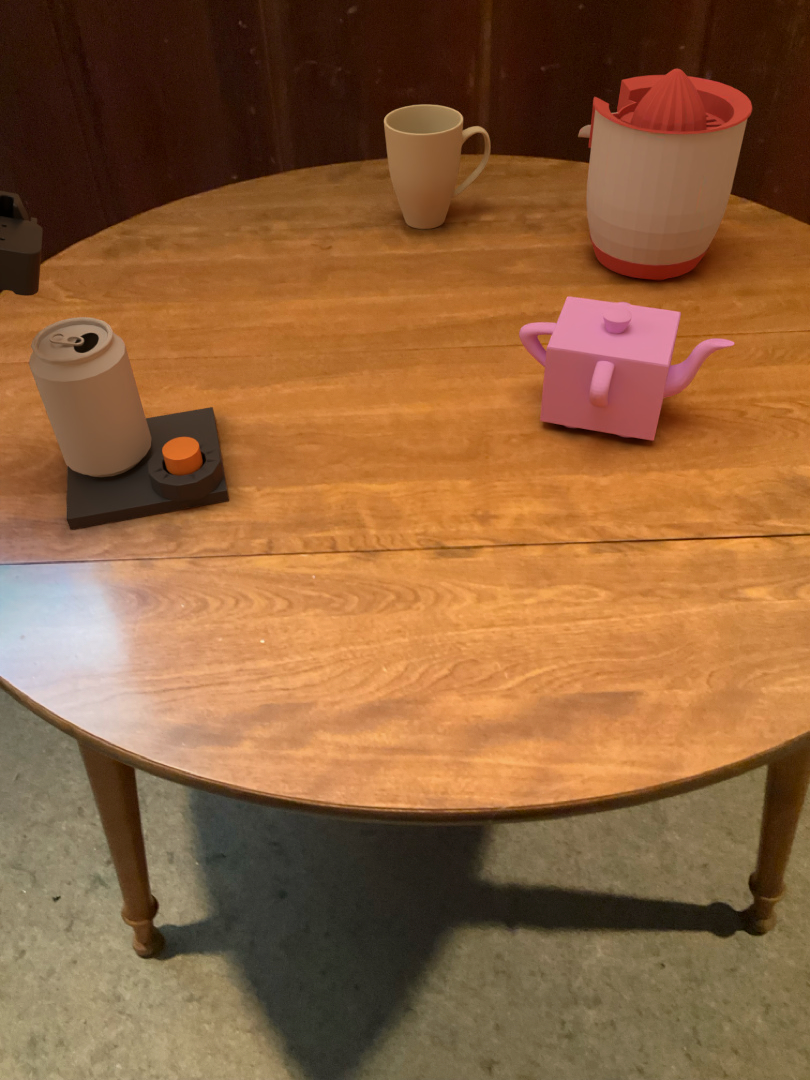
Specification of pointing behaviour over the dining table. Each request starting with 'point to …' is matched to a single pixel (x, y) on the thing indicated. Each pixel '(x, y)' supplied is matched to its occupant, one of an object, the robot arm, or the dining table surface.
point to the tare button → (182, 456)
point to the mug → (428, 160)
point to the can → (90, 396)
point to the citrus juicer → (662, 171)
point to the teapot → (611, 365)
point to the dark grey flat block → (152, 477)
